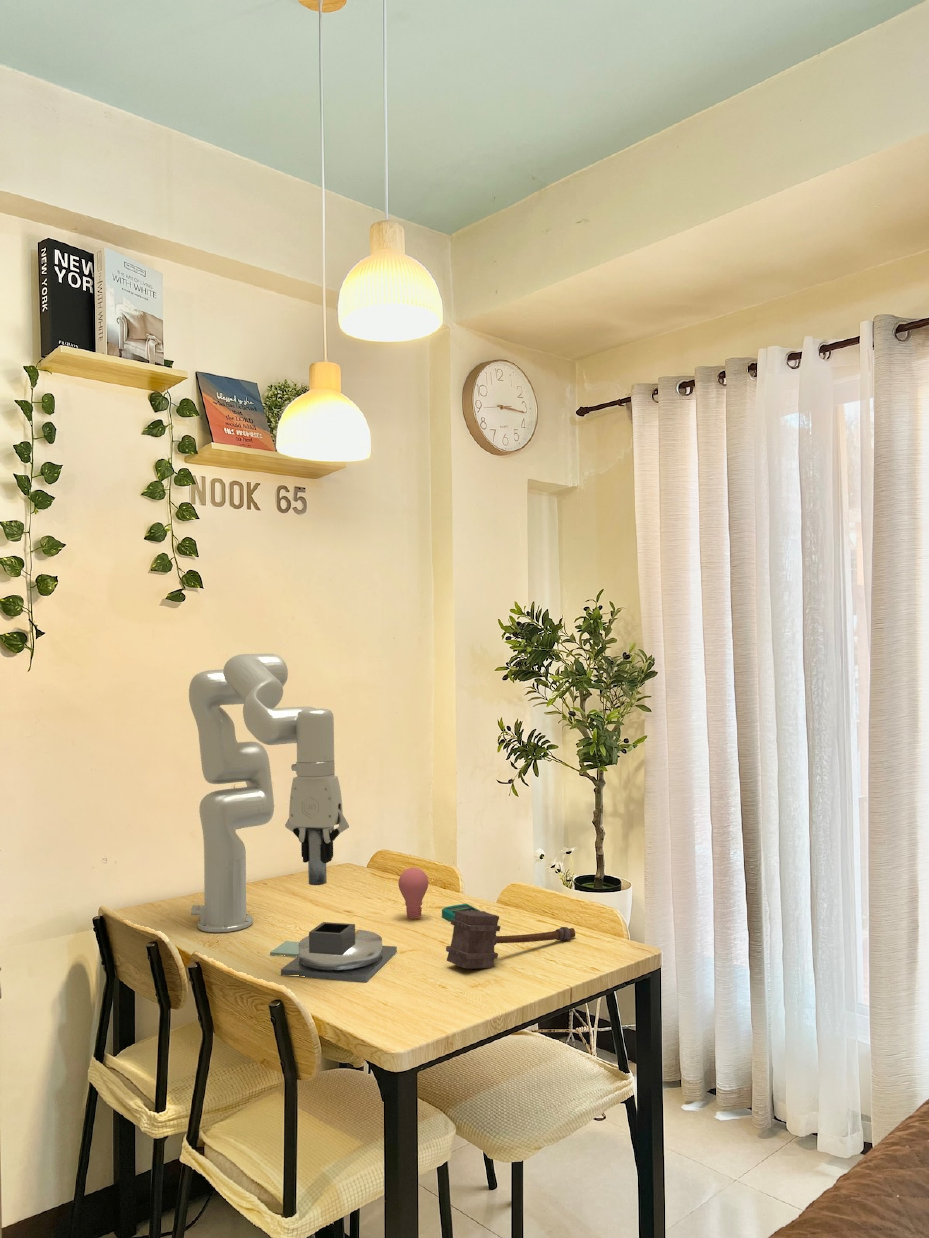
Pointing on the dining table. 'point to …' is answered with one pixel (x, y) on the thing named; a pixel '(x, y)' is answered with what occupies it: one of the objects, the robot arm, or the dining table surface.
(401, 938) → the dining table surface
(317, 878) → the chrome capsule
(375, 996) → the dining table surface
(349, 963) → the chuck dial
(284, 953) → the mat
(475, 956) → the hammer
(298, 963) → the base
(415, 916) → the light bulb
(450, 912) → the digital multimeter
